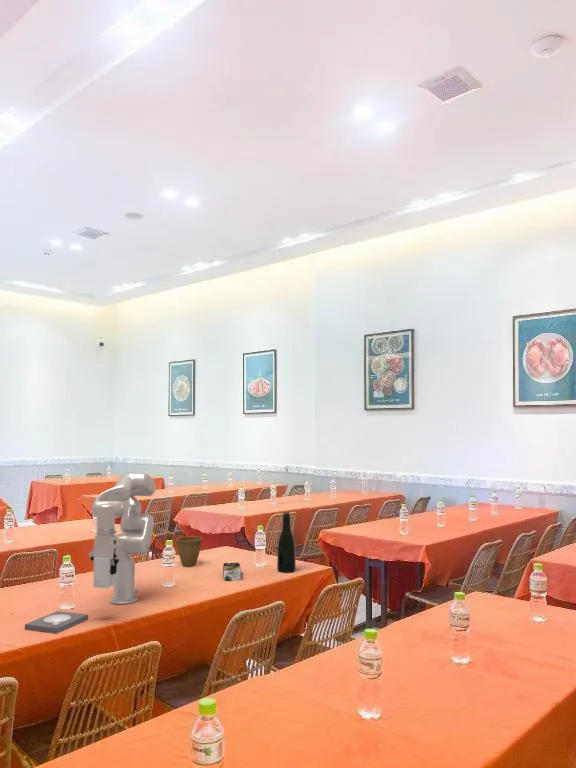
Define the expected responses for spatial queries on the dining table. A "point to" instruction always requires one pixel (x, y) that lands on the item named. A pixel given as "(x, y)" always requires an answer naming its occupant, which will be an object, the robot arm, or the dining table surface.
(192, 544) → the plant pot
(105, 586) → the supplement box
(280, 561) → the beer bottle
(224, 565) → the juice carton
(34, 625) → the mount plate
